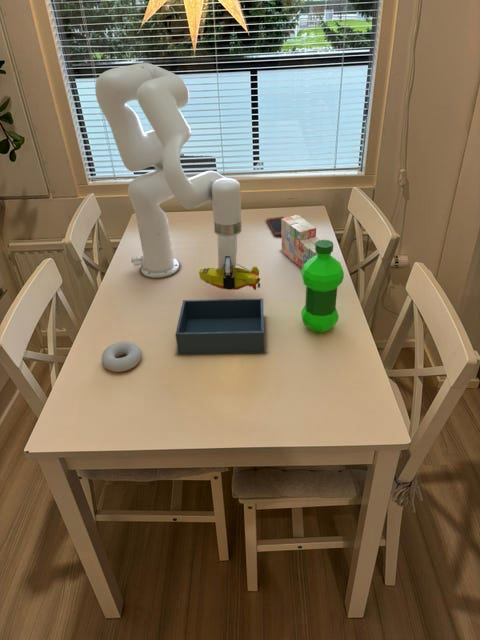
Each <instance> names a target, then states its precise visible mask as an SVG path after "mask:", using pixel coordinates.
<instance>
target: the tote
mask: <svg viewBox="0 0 480 640" xmlns="http://www.w3.org/2000/svg"><path fill="white" fill-rule="evenodd" d="M264 315H265V314H264V298H257V297H256V298H222V299H221V298H220V299H219V298H218V299H217V298H216V299H183V300H182V305H181V308H180V312H179V316H178V321H177V324H176V325H177V326H176V330H175V339H176V340H175V341H176V347H177V353H178V355H227V354H228V355H229V354H230V355H231V354H232V355H233V354H265V322H264V321H265V319H264Z"/></svg>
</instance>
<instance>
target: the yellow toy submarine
mask: <svg viewBox="0 0 480 640" xmlns="http://www.w3.org/2000/svg"><path fill="white" fill-rule="evenodd" d="M225 266H226V265H225ZM230 266H232V265H230ZM236 266H239V267H235V268H234V269H233V273H234V276H235V288H234V289H227V290H229V291H235V290H240V289H242V288H245V287H250V288H251V287H252V289H253V290H254V291H257V288H258V289H260V288H261V282H260V281H261V278H259V277H260V269H259V268H258V266H254V265H253V266H252V268H251V270H250V269H248V268H246V267H244V266H242V265H240V264H238V263H236ZM223 267H224V266H223ZM230 272H231V269H230ZM198 274H199V279H200V280H201V281H203V282H204V283H206V284H209V285H210V286H214V287H216V288H219V289H222V290H225V289H224V285H223V276H224V268H221V269H219V267H218V268H217V267H216V268H215V267H208V268H206V267H205V268H201V269H199V272H198Z"/></svg>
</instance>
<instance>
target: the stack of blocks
mask: <svg viewBox="0 0 480 640" xmlns="http://www.w3.org/2000/svg"><path fill="white" fill-rule="evenodd" d="M281 225H282V227H281V235H282V236H281V252H282V253H283V254H284V255H285V256H287V257H288V258H289V259H290V260H291V261H292V262H293V263H295V264H296V265H297V266H298V267H299V268H301V269H302V267H303V265H304V264H305V263H306V262H307V261H308V260H310V259H311V258H313V257H314V256H316V255H317V252H316V251H315V243H316V242H317V241H319V240H321V239H320V238H318V237H317V227H315V226H314V225H313V224H312V223H310V222H308V221H307V220H305V219H304V218H302V216H300V215H298V214H295V215H291V216H287V217H284V218H282V219H281ZM330 256H332V252H331V253H330Z"/></svg>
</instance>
